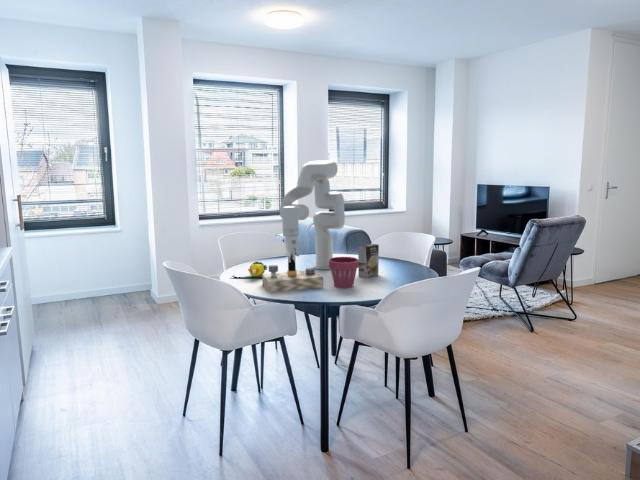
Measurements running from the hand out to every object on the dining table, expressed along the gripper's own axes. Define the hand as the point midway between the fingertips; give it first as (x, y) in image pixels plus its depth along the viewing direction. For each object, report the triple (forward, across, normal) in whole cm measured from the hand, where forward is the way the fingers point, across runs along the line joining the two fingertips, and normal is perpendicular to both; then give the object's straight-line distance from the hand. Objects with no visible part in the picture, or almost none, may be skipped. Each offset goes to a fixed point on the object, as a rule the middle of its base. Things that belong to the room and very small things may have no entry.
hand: (291, 270), depth 228 cm
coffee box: (+8, +6, -42) cm, 43 cm away
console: (+8, 0, 0) cm, 8 cm away
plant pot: (+8, -9, -23) cm, 26 cm away
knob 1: (+3, 0, +9) cm, 9 cm away
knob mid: (+6, 0, 0) cm, 6 cm away
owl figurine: (+8, +26, +12) cm, 30 cm away
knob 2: (+6, 0, -9) cm, 11 cm away
